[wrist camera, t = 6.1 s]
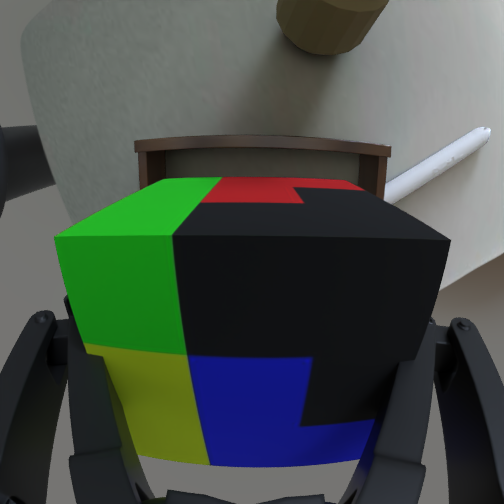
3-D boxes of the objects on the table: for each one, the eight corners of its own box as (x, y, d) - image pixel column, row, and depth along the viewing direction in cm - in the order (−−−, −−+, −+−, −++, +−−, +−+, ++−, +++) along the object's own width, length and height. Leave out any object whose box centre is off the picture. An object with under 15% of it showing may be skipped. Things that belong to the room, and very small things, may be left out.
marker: (482, 121, 24) (494, 121, 21) (488, 137, 24) (500, 138, 22) (371, 189, 28) (379, 193, 25) (379, 206, 28) (388, 212, 26)
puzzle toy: (327, 331, 19) (364, 458, 10) (179, 329, 19) (136, 454, 10) (345, 180, 15) (451, 240, 6) (163, 178, 16) (54, 236, 6)
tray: (166, 285, 32) (151, 311, 27) (156, 139, 26) (134, 140, 21) (353, 289, 32) (367, 316, 27) (368, 144, 26) (391, 145, 21)
